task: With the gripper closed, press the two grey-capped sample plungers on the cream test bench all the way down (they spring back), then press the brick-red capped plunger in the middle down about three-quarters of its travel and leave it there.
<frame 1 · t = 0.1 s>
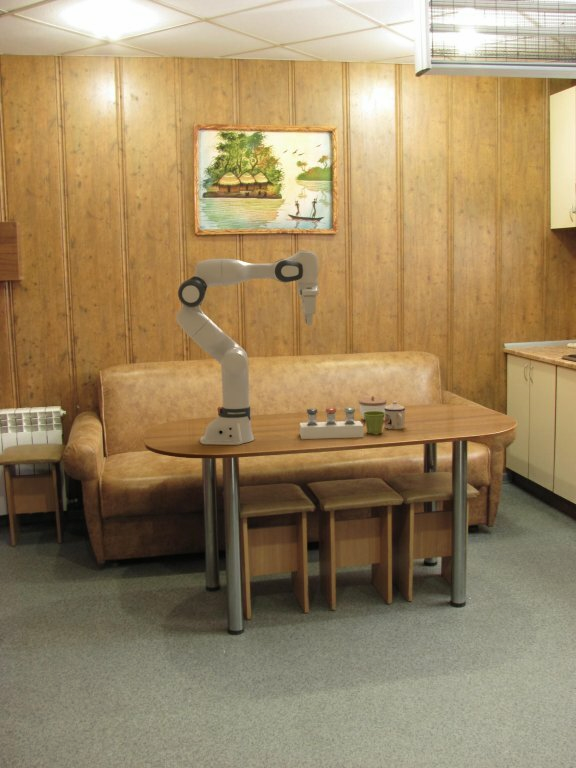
hand: (308, 324, 332), 48 cm above the table, tool pointing down, fingers open, 8 cm apart
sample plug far: (349, 415, 342), point 8 cm above the table, slide at 0.1 cm
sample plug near: (312, 416, 341), point 8 cm above the table, slide at 0.1 cm
printed white mug: (395, 428, 355), on the table
brick-red plug: (330, 416, 341), point 8 cm above the table, slide at 0.0 cm
plant pot: (374, 433, 347), on the table
test bench: (331, 435, 342), on the table
lidded bowl: (372, 420, 374), on the table
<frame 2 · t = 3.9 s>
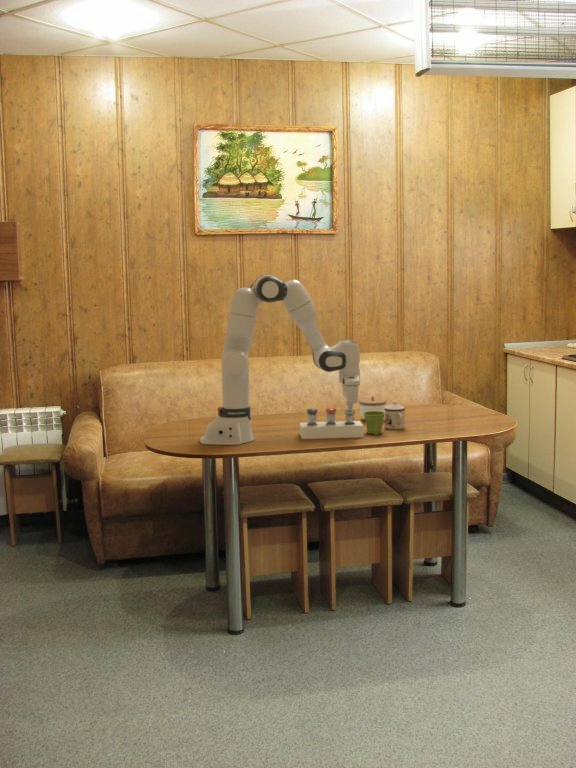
hand: (350, 410, 341), 11 cm above the table, tool pointing down, fingers closed, pressing on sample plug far
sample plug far: (349, 417, 342), point 7 cm above the table, slide at 0.9 cm, touching gripper
everything else where it was.
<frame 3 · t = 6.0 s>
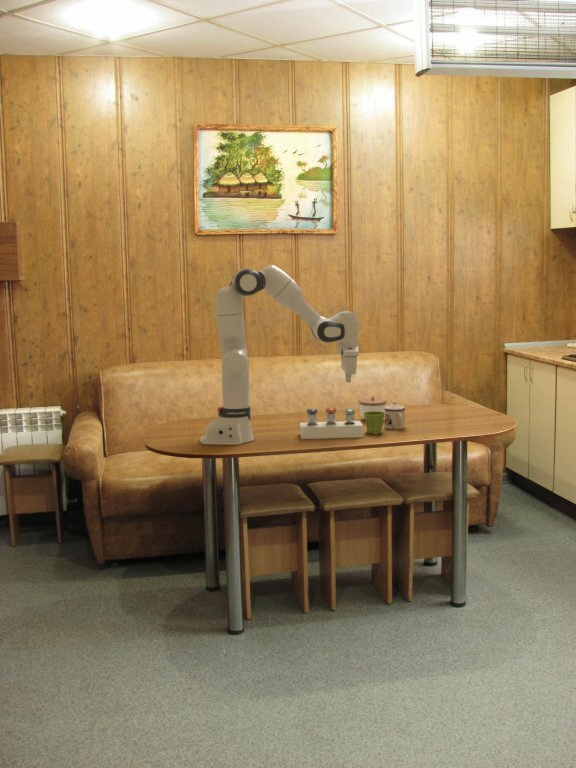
hand: (348, 382, 339), 23 cm above the table, tool pointing down, fingers closed
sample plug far: (349, 417, 342), point 8 cm above the table, slide at 0.6 cm
everything else where it was.
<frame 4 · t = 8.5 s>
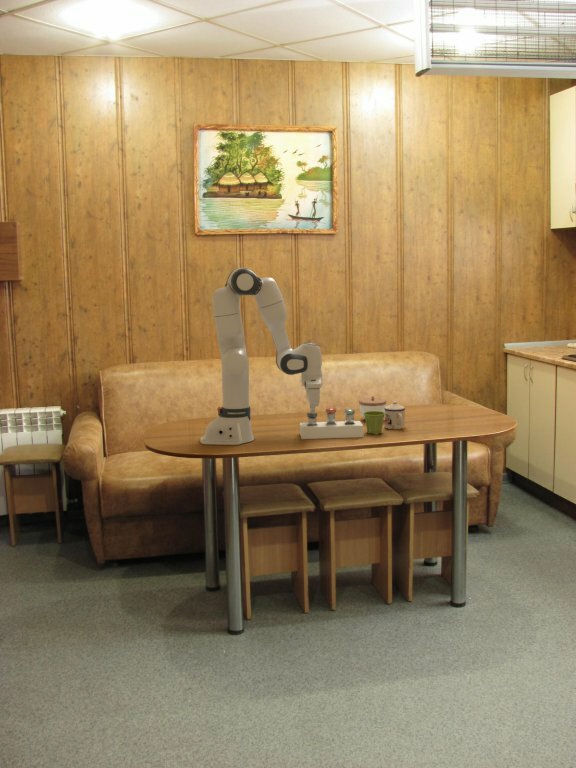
hand: (312, 413, 341), 10 cm above the table, tool pointing down, fingers closed, pressing on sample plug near
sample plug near: (312, 420, 341), point 7 cm above the table, slide at 1.7 cm, touching gripper
everything else where it was.
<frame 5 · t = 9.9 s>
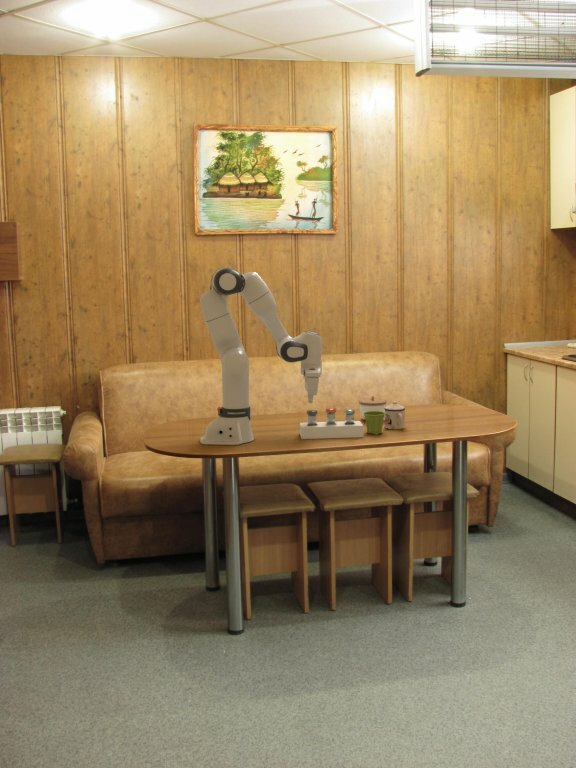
hand: (310, 402, 340), 15 cm above the table, tool pointing down, fingers closed
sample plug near: (312, 418, 341), point 8 cm above the table, slide at 0.6 cm
everything else where it was.
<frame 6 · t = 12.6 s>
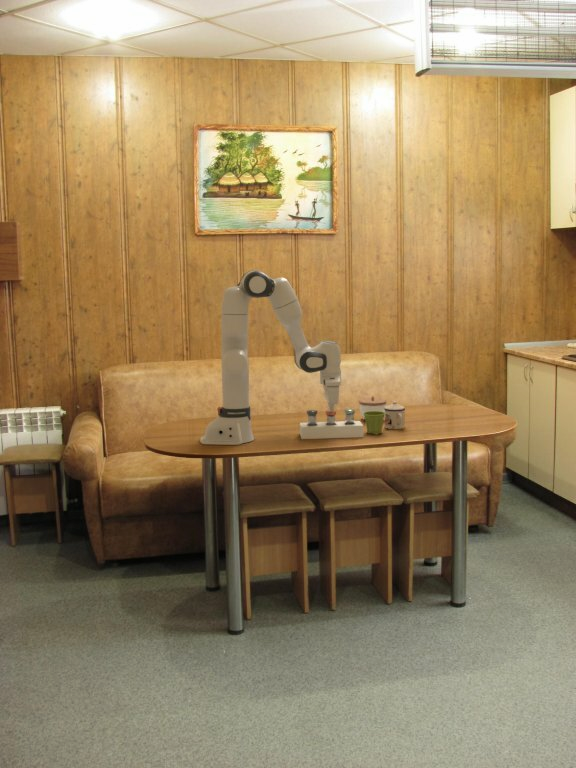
hand: (331, 411, 341), 10 cm above the table, tool pointing down, fingers closed, pressing on brick-red plug
brick-red plug: (330, 418, 341), point 7 cm above the table, slide at 1.1 cm, touching gripper
everything else where it was.
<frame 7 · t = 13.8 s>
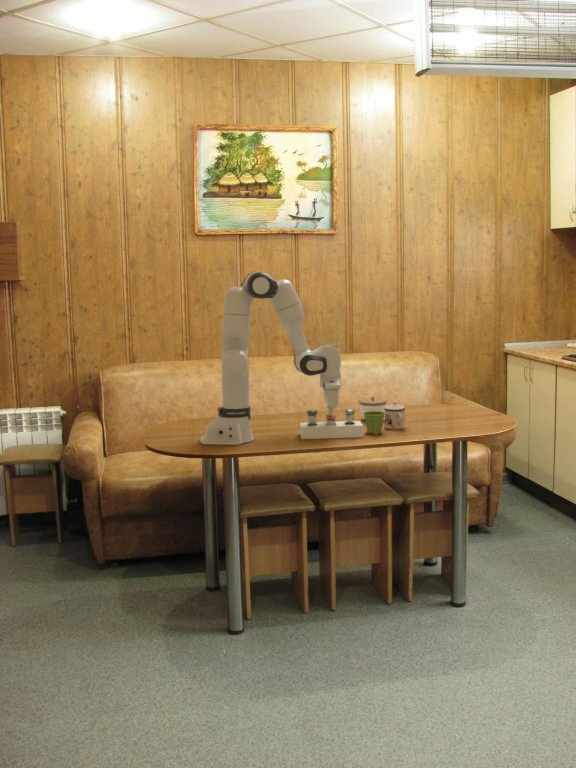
hand: (330, 414, 341), 9 cm above the table, tool pointing down, fingers closed
brick-red plug: (331, 422, 342), point 6 cm above the table, slide at 2.9 cm
everything else where it was.
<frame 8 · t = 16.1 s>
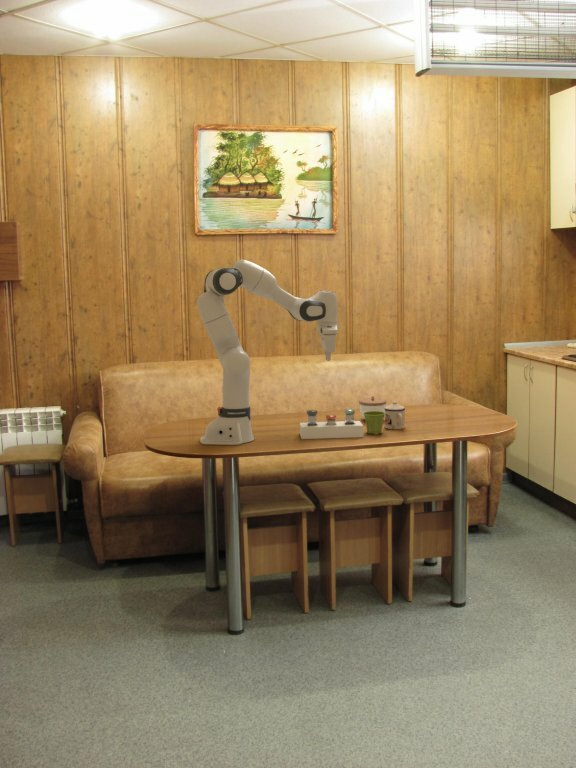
hand: (328, 360, 347), 31 cm above the table, tool pointing down, fingers closed
nothing on the table moved.
at the end: brick-red plug slide at 2.9 cm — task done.
